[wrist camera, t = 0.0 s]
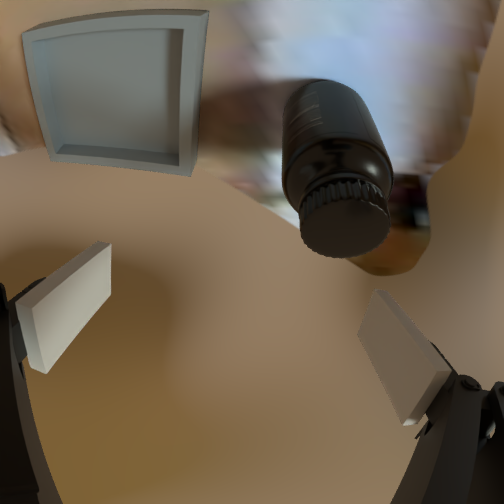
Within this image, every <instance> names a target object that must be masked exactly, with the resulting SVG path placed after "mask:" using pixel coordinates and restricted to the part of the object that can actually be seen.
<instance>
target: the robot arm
mask: <svg viewBox="0 0 504 504" xmlns="http://www.w3.org/2000/svg"><path fill="white" fill-rule="evenodd" d="M110 295H111V244H110V243H105V242H99V241H97V242H96V243H95V244H93V245H92V246H90V247H89V248H87V249H86V250H84V251H83V252H82V253H80V254H79V255H77V256H76V257H75V258H73V259H72V260H70V261H69V262H67V263H66V264H65V265H63V266H62V267H61V268H59V269H58V270H56V271H55V272H54V273H52V274H51V275H50V276H48V277H47V278H46V277H44V278H42V279H39V280H37V281H34V282H33V283H32V284H30V285H29V286H28V288H27V287H26V288H25V289H24V290H22V292H20V293H18V294H17V295H16V296H15V297H13V298H12V299H11V300H10V301H8V302H7V297H6V291H5V287H4V285H3V284H2V283H0V504H63V503H62V501H61V498H60V496H59V494H58V491H57V489H56V486H55V484H54V481H53V479H52V476H51V473H50V470H49V468H48V465H47V462H46V459H45V456H44V453H43V449H42V446H41V443H40V440H39V436H38V432H37V429H36V425H35V421H34V417H33V413H32V408H31V404H30V399H29V394H28V389H27V384H26V378H25V372H24V367H23V364H22V360H23V359H24V358H25V357H26V356H27V357H28V360H29V363H30V367H31V368H33V369H35V370H38V371H40V372H43V373H45V374H47V373H48V371H49V370H50V369H51V367H52V366H53V365H54V363H55V362H56V361H57V359H58V358H59V357H60V356H61V354H62V353H63V352H64V350H65V349H66V348H67V346H68V345H69V344H70V343H71V342H72V340H73V339H74V338H75V337H76V335H77V334H78V332H80V330H81V329H82V328H83V327H84V325H85V324H86V323H87V322H88V320H89V319H90V318H91V317H92V316H93V315H94V313H95V312H96V311H97V310H98V308H100V306H101V305H102V304H103V303H104V302H105V301H106V299H107V298H108V297H109V296H110ZM357 335H358V337H359V339H360V341H361V343H362V345H363V347H364V349H365V351H366V352H367V354H368V356H369V358H370V360H371V362H372V364H373V366H374V368H375V370H376V372H377V374H378V376H379V378H380V380H381V382H382V384H383V386H384V388H385V390H386V392H387V394H388V396H389V398H390V400H391V402H392V405H393V407H394V409H395V411H396V413H397V415H398V417H399V419H400V421H401V424H402V425H412V424H418V422H419V421H420V420H421V418H422V417H423V415H424V414H425V413H426V415H427V417H428V419H429V420H428V421H427V422H426V424H425V425H424V426H423V428H422V429H421V431H420V432H419V433H418V434H417V436H416V437H415V439H417V438H418V437H419V436H420V438H419V441H418V443H417V446H416V449H415V451H414V453H413V456H412V458H411V461H410V463H409V465H408V468H407V470H406V472H405V475H404V477H403V479H402V481H401V483H400V485H399V487H398V489H397V491H396V493H395V495H394V497H393V499H392V501H391V503H390V504H504V382H499V381H498V382H496V383H495V385H494V386H493V387H492V389H491V390H490V391H487V390H482V388H481V386H480V384H479V383H478V382H477V381H476V380H475V379H473V378H472V377H470V376H467V375H458V374H457V372H456V371H455V370H454V369H453V367H452V366H451V365H450V363H449V362H448V361H447V360H446V359H445V357H444V356H443V354H441V352H440V351H439V349H438V348H437V347H436V346H435V345H434V344H433V343H431V342H430V341H429V340H428V339H427V338H426V337H425V336H424V335H423V333H422V332H421V331H420V329H419V328H418V327H417V326H416V325H415V323H414V322H413V321H412V320H411V319H410V317H409V316H408V315H407V314H406V313H405V311H404V310H403V309H402V308H401V307H400V306H399V305H398V303H397V302H396V301H395V300H394V299H393V297H391V295H390V294H389V293H388V292H387V291H384V290H378V289H374V291H373V294H372V297H371V300H370V302H369V305H368V308H367V310H366V313H365V316H364V319H363V321H362V324H361V326H360V329H359V331H358V334H357ZM494 428H495V433H494V434H493V436H492V438H490V433H491V432H492V430H493V429H494Z"/></svg>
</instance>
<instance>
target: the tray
mask: <svg viewBox="0 0 504 504" xmlns="http://www.w3.org/2000/svg"><path fill="white" fill-rule="evenodd" d="M208 17H209V11H206V10H187V9H146V10H127V11H115V12H105V13H97V14H89V15H83V16H76V17H71V18H65V19H60V20H55V21H51V22H46V23H42V24H39V25H37V26H35V27H33V28H31V29H29V30H27V31H25V32H23V33H22V40H23V48H24V54H25V60H26V66H27V71H28V77H29V82H30V86H31V91H32V95H33V100H34V104H35V108H36V112H37V116H38V120H39V123H40V127H41V131H42V134H43V138H44V141H45V144H46V148H47V151H48V154H49V157H50V160H51V161H56V162H69V163H80V164H91V165H101V166H112V167H120V168H129V169H137V170H145V171H153V172H161V173H168V174H175V175H182V176H188V177H191V174H192V171H193V169H194V166H195V164H196V161H197V147H198V129H199V113H200V99H201V86H202V74H203V63H204V53H205V43H206V34H207V25H208Z"/></svg>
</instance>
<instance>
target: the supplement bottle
mask: <svg viewBox="0 0 504 504" xmlns="http://www.w3.org/2000/svg"><path fill="white" fill-rule="evenodd" d="M393 183H394V173H393V168H392V165H391V161H390V159H389V156H388V154H387V151H386V149H385V146H384V144H383V141H382V139H381V137H380V134H379V132H378V130H377V127H376V125H375V123H374V121H373V119H372V116H371V114H370V112H369V110H368V108H367V106H366V104H365V102H364V101H363V99H362V98H361V97H360V96H359V94H358V93H356V92H355V91H354V90H353V89H351V88H350V87H348V86H346V85H344V84H341V83H338V82H333V81H318V82H313V83H310V84H307V85H305V86H303V87H301V88H300V89H298V90H297V91H296V92H295V93H294V94H293V95H292V96H291V97H290V99H289V100H288V102H287V104H286V106H285V109H284V113H283V136H282V188H283V192H284V195H285V197H286V199H287V201H288V202H289V204H290V205H291V206H292V208H293V209H294V210H295V211H296V212H297V213H298V215H299V219H300V232H301V238H302V239H303V241H304V243H305V244H306V245H307V247H308V248H310V249H312V251H314V252H317V253H318V254H320V255H324V256H326V257H332V258H351V257H357V256H359V255H363V254H366V253H367V252H370V251H372V250H373V249H375V248H377V247H378V246H379V245H380V244H382V243H383V242H384V240H385V239H386V238H387V235H388V233H389V232H390V227H391V223H390V216H389V212H388V205H387V200H388V198H389V196H390V194H391V191H392V188H393Z"/></svg>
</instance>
